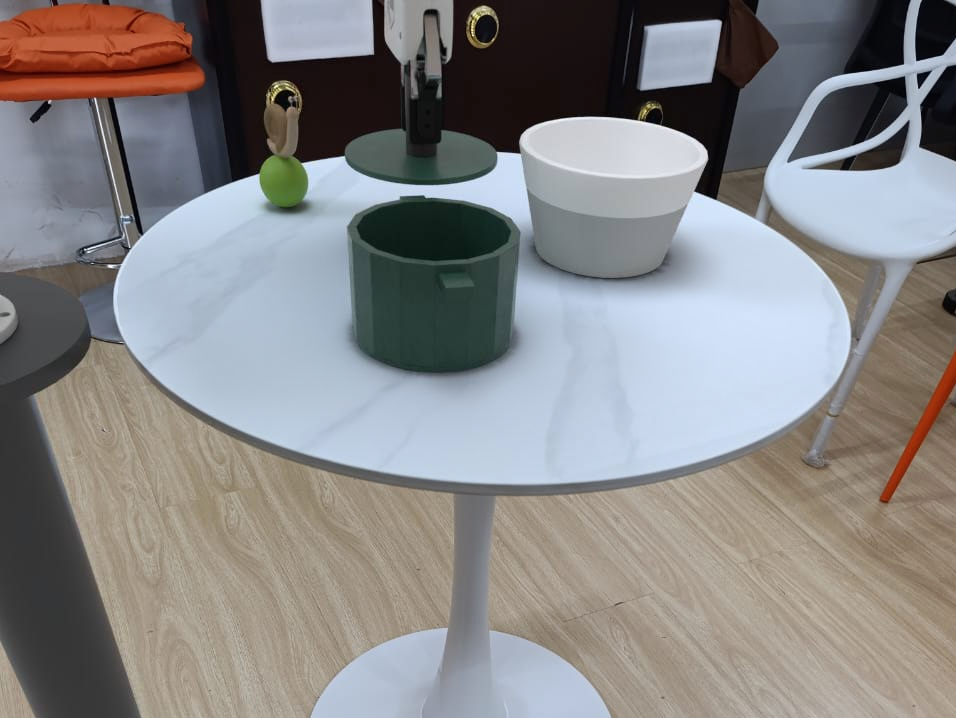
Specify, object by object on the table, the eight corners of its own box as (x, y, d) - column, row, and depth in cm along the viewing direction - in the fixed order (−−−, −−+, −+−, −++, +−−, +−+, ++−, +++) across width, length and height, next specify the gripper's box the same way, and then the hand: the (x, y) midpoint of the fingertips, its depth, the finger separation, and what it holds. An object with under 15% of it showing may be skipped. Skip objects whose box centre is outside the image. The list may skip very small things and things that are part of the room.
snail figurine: (284, 220, 103) (272, 100, 94) (253, 203, 106) (238, 85, 98) (324, 210, 105) (316, 92, 97) (292, 193, 109) (282, 78, 100)
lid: (357, 195, 88) (352, 99, 82) (335, 142, 98) (329, 54, 93) (514, 188, 91) (520, 95, 85) (476, 137, 102) (479, 52, 96)
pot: (372, 395, 77) (368, 283, 70) (340, 291, 91) (333, 190, 84) (539, 380, 80) (549, 272, 73) (483, 282, 94) (487, 184, 87)
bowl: (724, 268, 99) (748, 160, 91) (581, 303, 91) (595, 189, 84) (614, 208, 110) (628, 108, 103) (478, 235, 102) (483, 129, 95)
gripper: (362, -108, 85) (371, 113, 98) (394, -80, 74) (399, 166, 87) (441, -107, 86) (440, 111, 99) (484, -79, 75) (476, 163, 88)
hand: (421, 134), depth 93 cm, fingers closed on lid, 3 cm apart
